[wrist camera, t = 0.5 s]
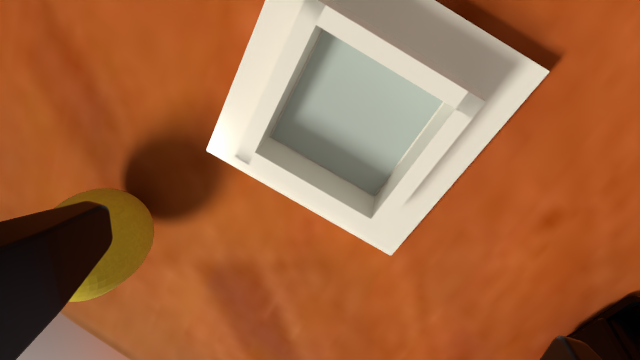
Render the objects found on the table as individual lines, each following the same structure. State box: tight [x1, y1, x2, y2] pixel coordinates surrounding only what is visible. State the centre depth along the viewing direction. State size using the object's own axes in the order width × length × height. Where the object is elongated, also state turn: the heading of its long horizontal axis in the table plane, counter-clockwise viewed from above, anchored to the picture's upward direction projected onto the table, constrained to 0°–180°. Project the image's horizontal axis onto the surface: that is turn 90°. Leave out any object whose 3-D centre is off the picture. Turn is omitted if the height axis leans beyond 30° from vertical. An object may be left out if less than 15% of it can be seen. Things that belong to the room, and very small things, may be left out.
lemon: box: [54, 189, 154, 302], centre depth 22 cm, size 6×6×8 cm
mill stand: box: [206, 0, 550, 256], centre depth 18 cm, size 12×12×3 cm
